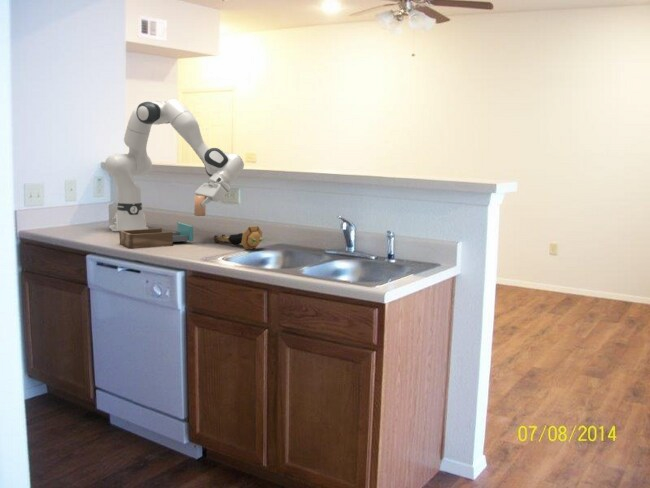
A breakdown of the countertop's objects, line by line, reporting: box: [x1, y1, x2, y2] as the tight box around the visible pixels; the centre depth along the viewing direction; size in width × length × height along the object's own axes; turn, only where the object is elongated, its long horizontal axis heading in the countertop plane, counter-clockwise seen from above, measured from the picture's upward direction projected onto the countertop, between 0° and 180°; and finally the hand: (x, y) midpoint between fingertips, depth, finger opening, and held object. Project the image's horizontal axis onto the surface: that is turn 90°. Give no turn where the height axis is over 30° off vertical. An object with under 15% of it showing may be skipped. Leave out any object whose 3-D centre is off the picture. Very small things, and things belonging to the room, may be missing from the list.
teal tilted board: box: [172, 221, 194, 243], centre depth 283 cm, size 15×19×7 cm
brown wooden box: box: [118, 227, 174, 249], centre depth 278 cm, size 14×19×6 cm
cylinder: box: [193, 194, 207, 217], centre depth 286 cm, size 5×5×9 cm
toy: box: [213, 225, 264, 250], centre depth 280 cm, size 18×10×30 cm
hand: (198, 204), depth 285 cm, fingers closed on cylinder, 5 cm apart
